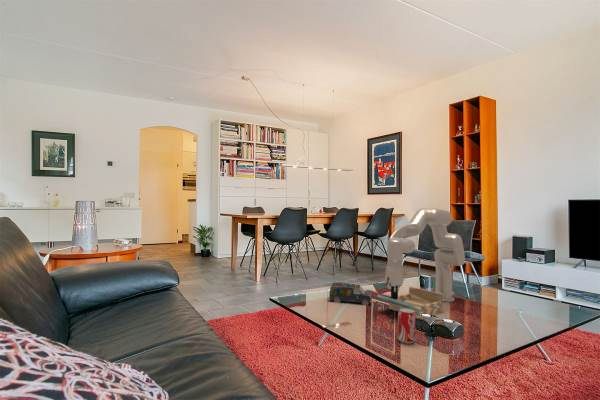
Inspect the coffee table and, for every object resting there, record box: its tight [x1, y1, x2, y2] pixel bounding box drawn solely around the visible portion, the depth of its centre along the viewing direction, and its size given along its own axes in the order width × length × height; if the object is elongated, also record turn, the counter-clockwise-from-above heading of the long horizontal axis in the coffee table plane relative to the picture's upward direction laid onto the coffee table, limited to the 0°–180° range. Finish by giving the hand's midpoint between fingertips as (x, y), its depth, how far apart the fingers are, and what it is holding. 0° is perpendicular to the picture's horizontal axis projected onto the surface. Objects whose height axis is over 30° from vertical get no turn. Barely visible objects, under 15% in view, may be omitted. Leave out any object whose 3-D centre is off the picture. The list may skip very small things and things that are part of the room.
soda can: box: [396, 308, 417, 345], centre depth 139 cm, size 7×7×13 cm
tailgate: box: [376, 294, 420, 312], centre depth 173 cm, size 2×19×12 cm
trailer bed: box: [388, 286, 443, 316], centre depth 182 cm, size 20×20×10 cm
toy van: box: [328, 282, 373, 306], centre depth 196 cm, size 11×25×10 cm, turn 77°
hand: (394, 298), depth 171 cm, fingers closed
